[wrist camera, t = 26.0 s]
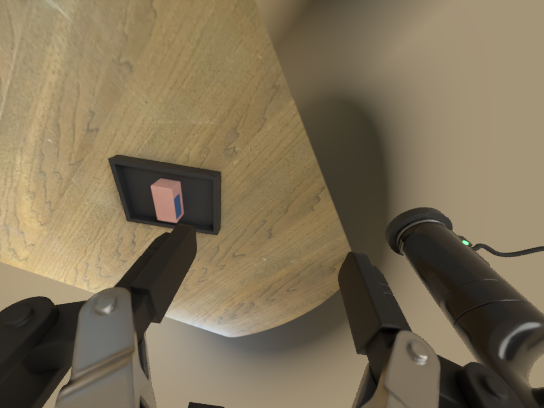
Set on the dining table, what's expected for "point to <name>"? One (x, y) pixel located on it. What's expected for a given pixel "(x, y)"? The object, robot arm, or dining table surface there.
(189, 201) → the tray
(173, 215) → the eraser
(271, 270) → the dining table surface
